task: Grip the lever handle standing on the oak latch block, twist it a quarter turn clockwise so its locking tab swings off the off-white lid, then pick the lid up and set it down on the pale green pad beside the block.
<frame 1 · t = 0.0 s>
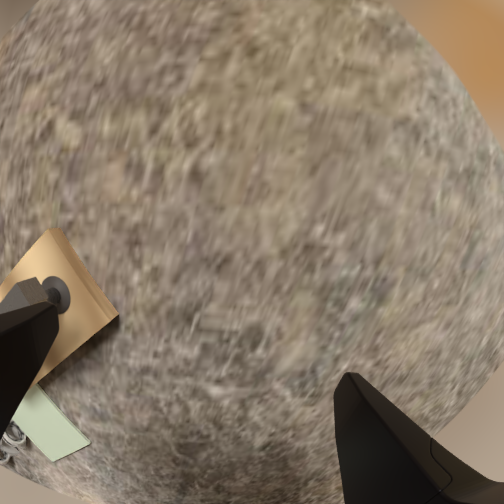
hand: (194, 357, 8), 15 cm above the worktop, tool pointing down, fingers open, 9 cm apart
pad: (43, 424, 24), on the worktop
lever handle: (19, 318, 17), point 6 cm above the worktop, hinge at 0.0°
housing: (37, 319, 23), on the worktop
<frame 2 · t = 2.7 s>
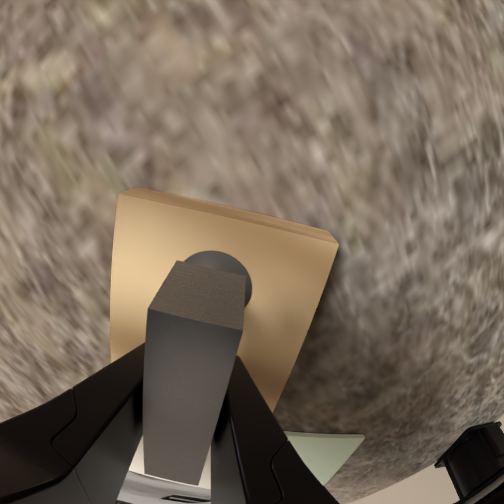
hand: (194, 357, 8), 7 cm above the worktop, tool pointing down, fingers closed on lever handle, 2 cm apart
cover: (187, 420, 16), point 2 cm above the worktop, touching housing
pad: (289, 463, 20), on the worktop
car model: (157, 488, 24), on the worktop
lever handle: (191, 379, 10), point 6 cm above the worktop, hinge at -0.1°, touching gripper
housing: (200, 350, 16), on the worktop
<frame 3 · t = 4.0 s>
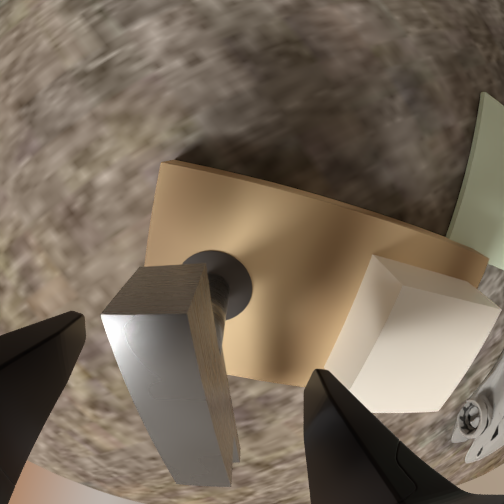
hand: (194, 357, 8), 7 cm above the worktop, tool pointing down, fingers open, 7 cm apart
cover: (400, 325, 13), point 2 cm above the worktop, touching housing
lever handle: (208, 382, 10), point 6 cm above the worktop, hinge at -71.7°
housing: (318, 291, 15), on the worktop
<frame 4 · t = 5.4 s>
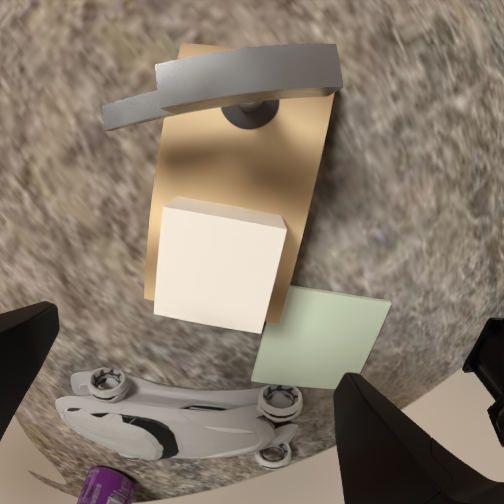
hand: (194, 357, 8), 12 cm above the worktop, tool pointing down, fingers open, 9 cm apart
beverage can: (113, 474, 32), on the worktop
cover: (220, 254, 18), point 2 cm above the worktop, touching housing
pad: (319, 343, 23), on the worktop
car model: (175, 411, 26), on the worktop
lever handle: (207, 95, 12), point 6 cm above the worktop, hinge at -71.7°
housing: (234, 183, 19), on the worktop
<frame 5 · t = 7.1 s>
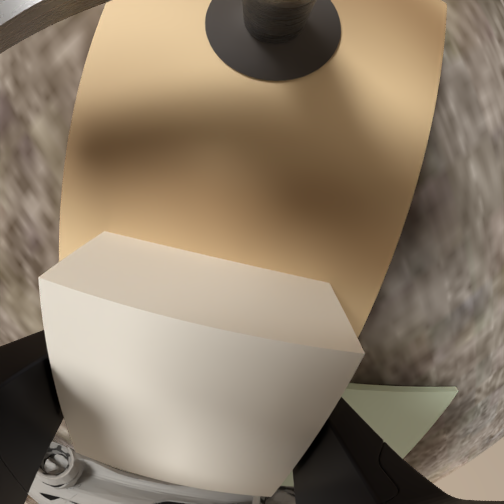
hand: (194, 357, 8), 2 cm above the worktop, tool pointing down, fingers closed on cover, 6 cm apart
cover: (195, 351, 9), point 2 cm above the worktop, touching gripper, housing
pad: (349, 444, 13), on the worktop
car model: (146, 491, 17), on the worktop
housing: (229, 203, 9), on the worktop
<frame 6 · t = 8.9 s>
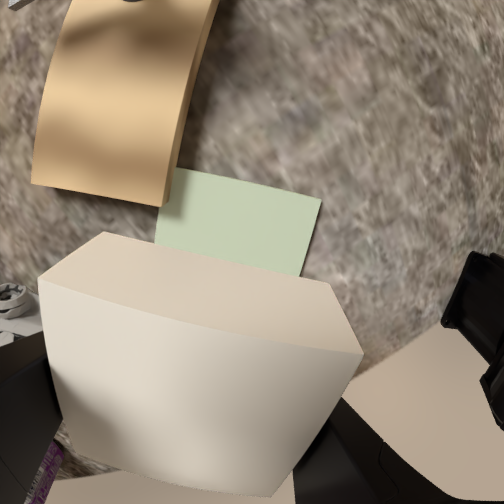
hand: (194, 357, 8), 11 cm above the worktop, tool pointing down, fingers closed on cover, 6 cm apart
beverage can: (43, 438, 27), on the worktop
cover: (195, 351, 9), point 10 cm above the worktop, touching gripper
pad: (228, 253, 19), on the worktop
car model: (79, 348, 22), on the worktop
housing: (127, 61, 14), on the worktop
when the fingers open (2 cm above the worktop, at t = 11.1 s): cover drops 1 cm, resting on pad.
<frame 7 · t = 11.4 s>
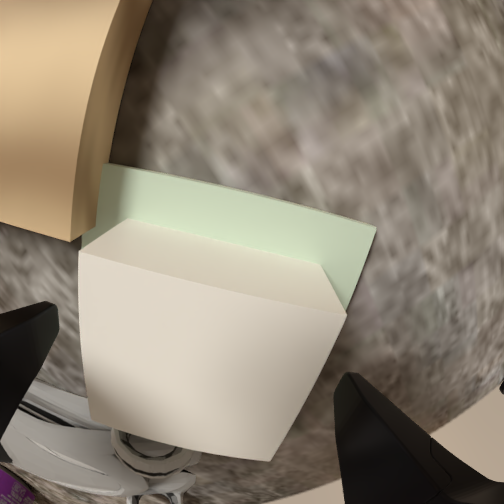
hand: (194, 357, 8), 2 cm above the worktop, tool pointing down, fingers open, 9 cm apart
beverage can: (12, 475, 19), on the worktop
cover: (204, 325, 10), resting on pad
pad: (203, 318, 10), on the worktop
car model: (22, 401, 14), on the worktop
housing: (51, 0, 6), on the worktop
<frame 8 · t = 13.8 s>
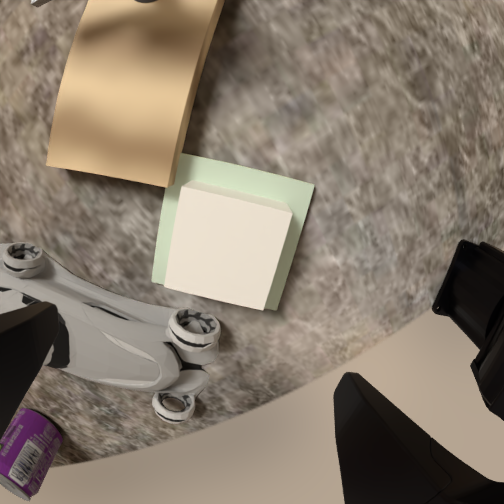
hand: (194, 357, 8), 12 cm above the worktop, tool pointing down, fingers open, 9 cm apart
beverage can: (43, 422, 29), on the worktop
cover: (228, 236, 20), resting on pad
pad: (227, 234, 20), on the worktop
car model: (82, 318, 23), on the worktop
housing: (139, 56, 16), on the worktop
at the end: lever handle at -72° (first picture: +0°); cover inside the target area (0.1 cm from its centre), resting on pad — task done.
